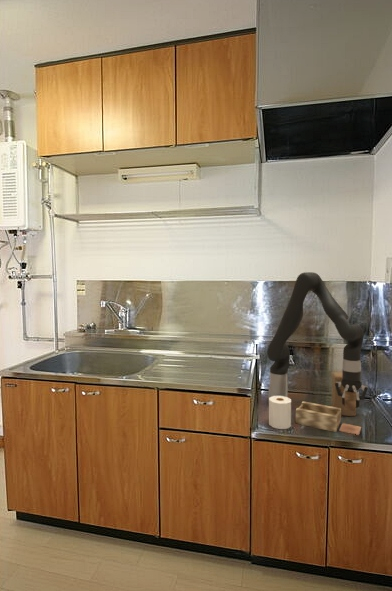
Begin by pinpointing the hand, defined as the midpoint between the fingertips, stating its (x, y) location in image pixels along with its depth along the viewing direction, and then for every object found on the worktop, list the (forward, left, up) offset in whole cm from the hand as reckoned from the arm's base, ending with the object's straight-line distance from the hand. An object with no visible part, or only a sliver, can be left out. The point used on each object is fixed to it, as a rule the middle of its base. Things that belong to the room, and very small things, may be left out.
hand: (350, 406), depth 156 cm
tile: (0, 0, -11) cm, 11 cm away
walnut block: (0, 0, -1) cm, 1 cm away
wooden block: (-6, +19, -11) cm, 23 cm away
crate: (-14, 0, -11) cm, 18 cm away
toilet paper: (-29, -11, -11) cm, 33 cm away
